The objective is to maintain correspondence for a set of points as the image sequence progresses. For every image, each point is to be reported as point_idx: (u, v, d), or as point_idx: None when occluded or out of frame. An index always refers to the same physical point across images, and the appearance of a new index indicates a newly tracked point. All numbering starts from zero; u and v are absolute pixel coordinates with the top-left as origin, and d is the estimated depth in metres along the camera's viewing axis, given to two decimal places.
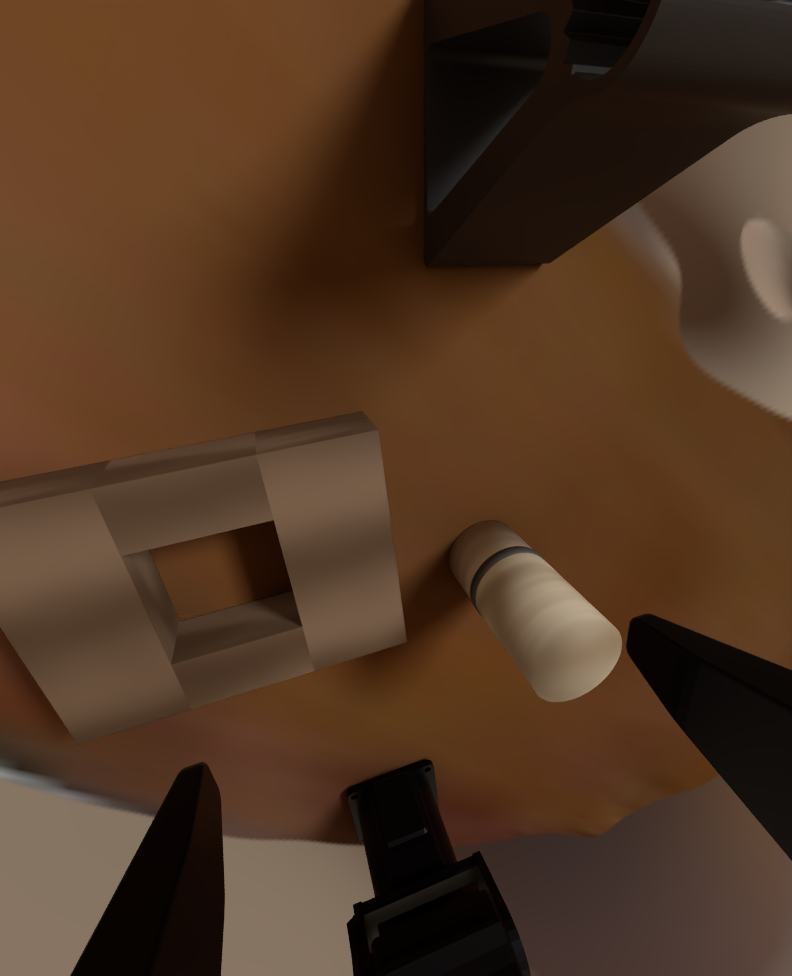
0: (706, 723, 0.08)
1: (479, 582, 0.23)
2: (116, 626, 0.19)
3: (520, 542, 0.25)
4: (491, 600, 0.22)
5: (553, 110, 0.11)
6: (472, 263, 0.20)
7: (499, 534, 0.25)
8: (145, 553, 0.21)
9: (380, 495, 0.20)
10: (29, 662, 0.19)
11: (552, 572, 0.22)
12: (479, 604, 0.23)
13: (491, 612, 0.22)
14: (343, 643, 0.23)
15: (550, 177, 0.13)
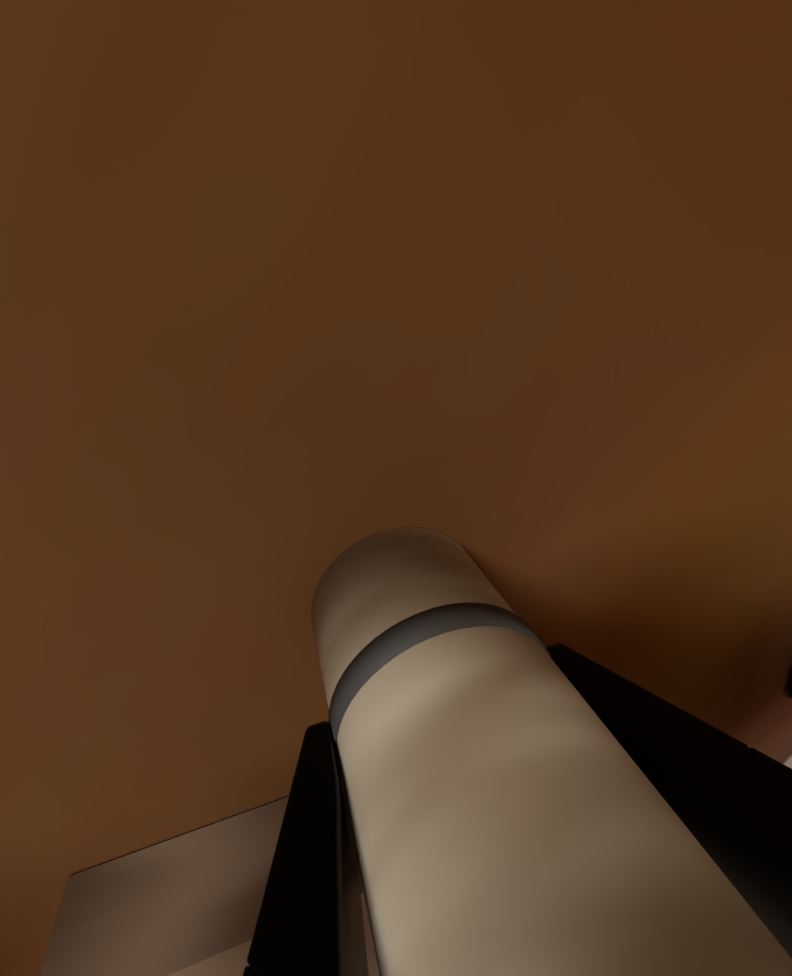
0: None
1: None
2: None
3: (333, 665, 0.09)
4: None
5: None
6: None
7: (321, 666, 0.10)
8: None
9: None
10: None
11: (369, 815, 0.06)
12: None
13: None
14: None
15: None
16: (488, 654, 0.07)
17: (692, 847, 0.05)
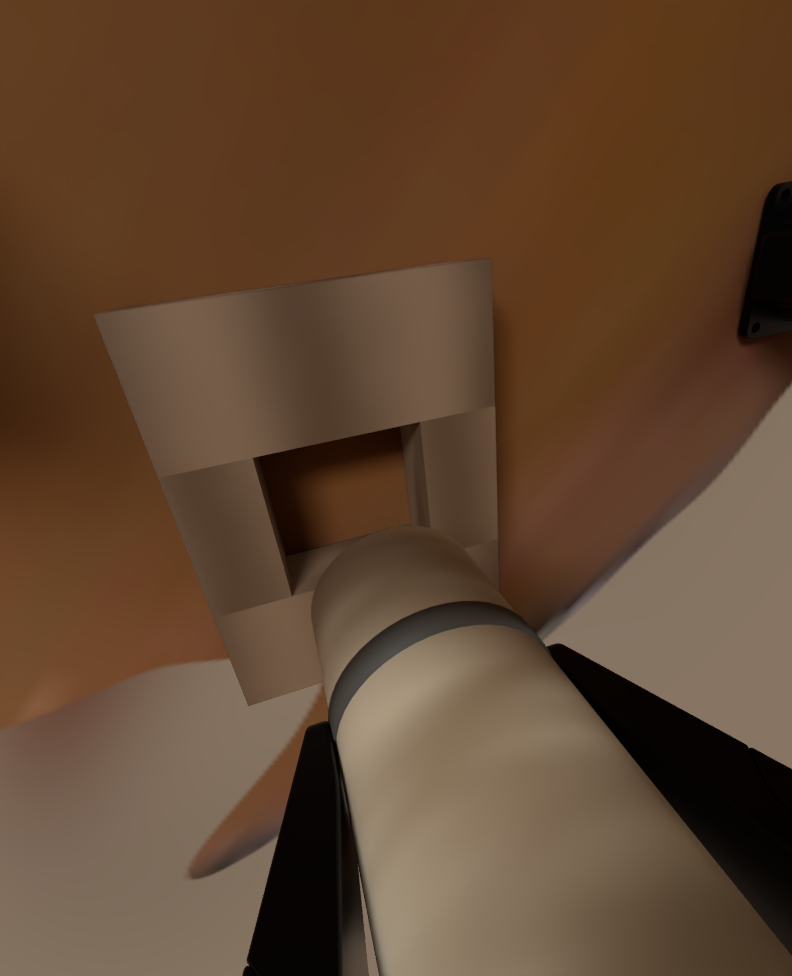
0: None
1: None
2: None
3: (332, 664, 0.09)
4: None
5: None
6: None
7: (320, 664, 0.10)
8: (318, 554, 0.20)
9: (211, 309, 0.13)
10: None
11: (368, 814, 0.06)
12: None
13: None
14: (462, 365, 0.16)
15: None
16: (488, 652, 0.07)
17: (693, 845, 0.05)
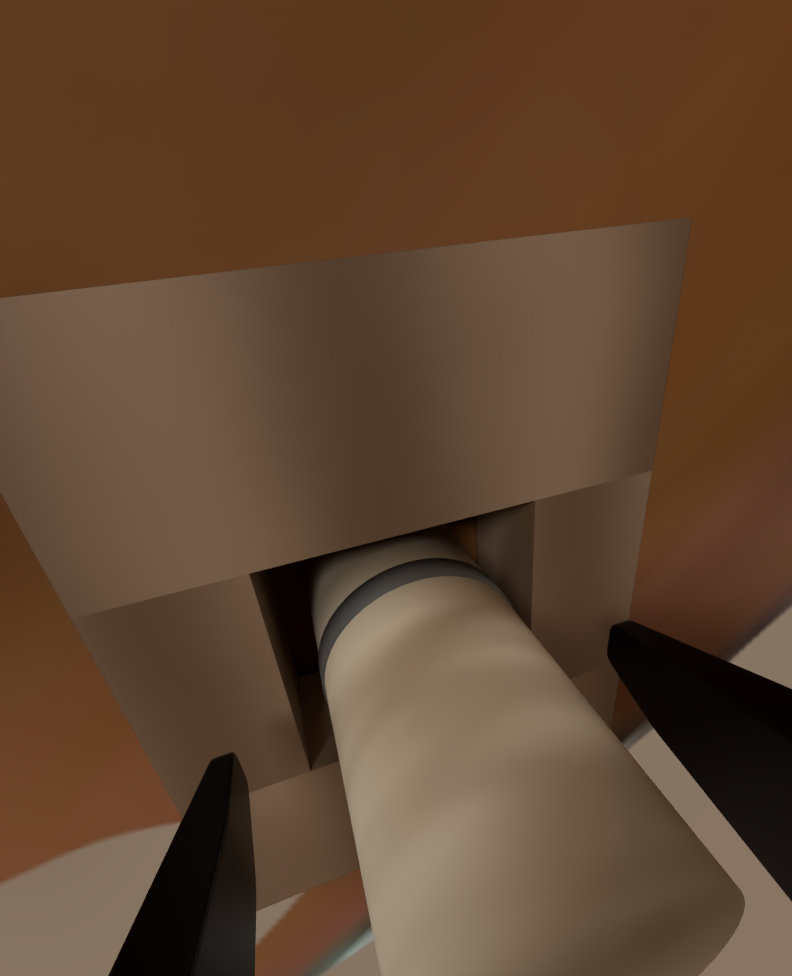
0: (684, 732, 0.08)
1: None
2: None
3: (322, 615, 0.10)
4: None
5: None
6: None
7: (312, 620, 0.11)
8: None
9: (167, 302, 0.06)
10: None
11: (348, 722, 0.08)
12: None
13: None
14: (614, 406, 0.09)
15: None
16: (452, 596, 0.09)
17: (604, 732, 0.06)
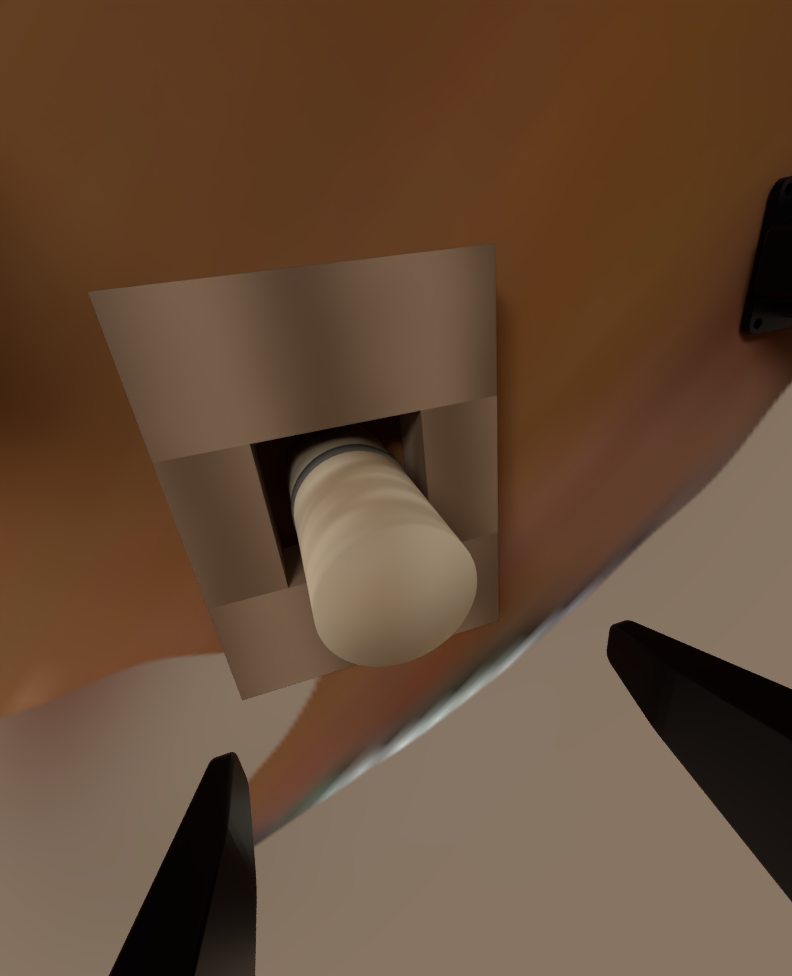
0: (684, 732, 0.08)
1: None
2: None
3: (293, 481, 0.17)
4: None
5: None
6: None
7: (289, 492, 0.18)
8: None
9: (209, 289, 0.13)
10: None
11: (302, 515, 0.14)
12: None
13: None
14: (464, 353, 0.16)
15: None
16: (364, 457, 0.15)
17: (426, 503, 0.13)
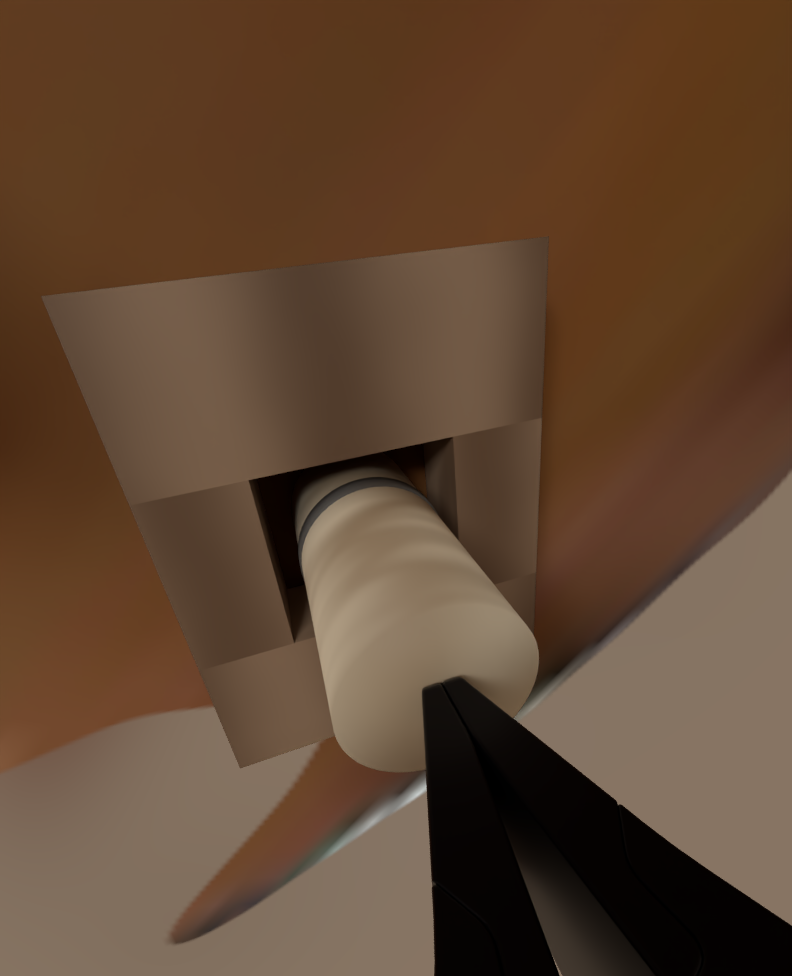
0: None
1: None
2: None
3: (301, 520, 0.14)
4: None
5: None
6: None
7: (295, 531, 0.15)
8: None
9: (197, 292, 0.10)
10: None
11: (313, 570, 0.11)
12: None
13: None
14: (507, 368, 0.13)
15: None
16: (387, 496, 0.12)
17: (470, 561, 0.10)
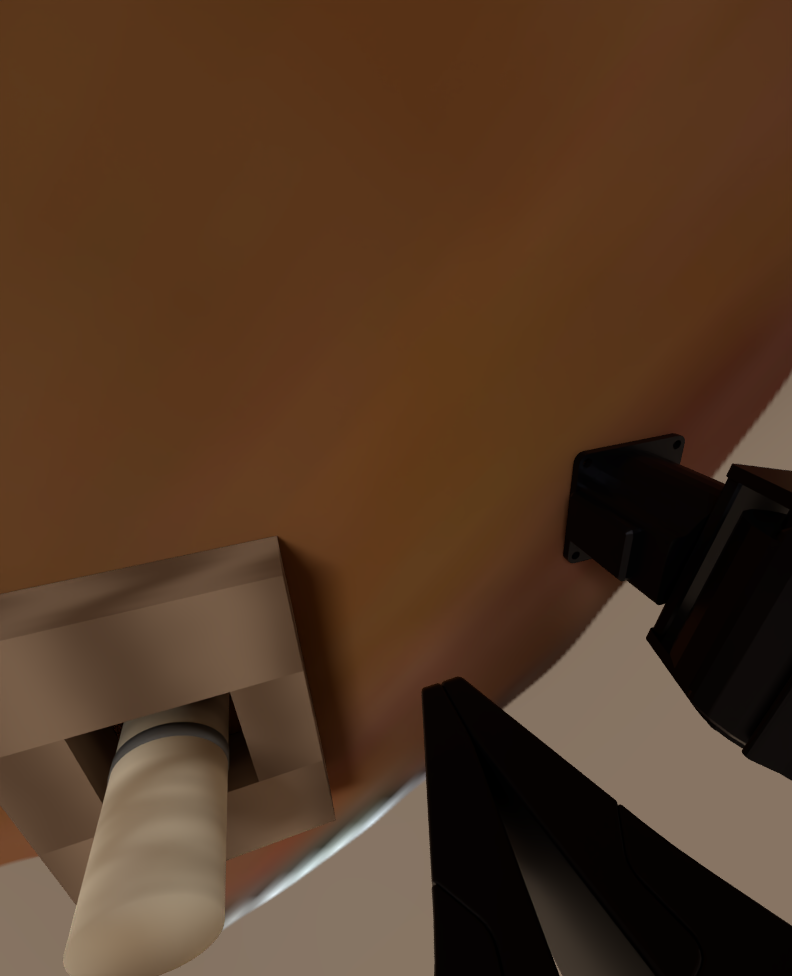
0: None
1: None
2: None
3: (117, 748, 0.19)
4: None
5: None
6: None
7: None
8: None
9: (10, 646, 0.15)
10: (233, 855, 0.23)
11: (99, 818, 0.16)
12: None
13: None
14: (266, 648, 0.18)
15: None
16: (166, 751, 0.17)
17: (193, 830, 0.15)
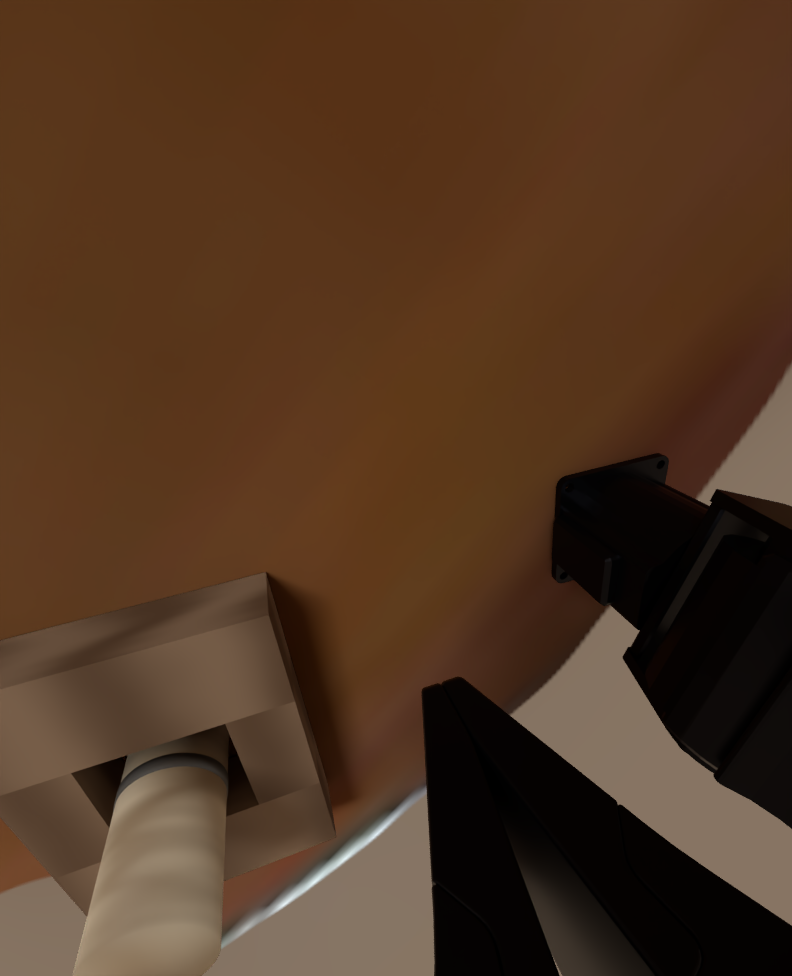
0: None
1: None
2: None
3: (122, 778, 0.20)
4: None
5: None
6: None
7: None
8: None
9: (15, 692, 0.16)
10: (239, 872, 0.24)
11: (104, 848, 0.17)
12: None
13: None
14: (257, 682, 0.19)
15: None
16: (165, 783, 0.18)
17: (190, 860, 0.16)
